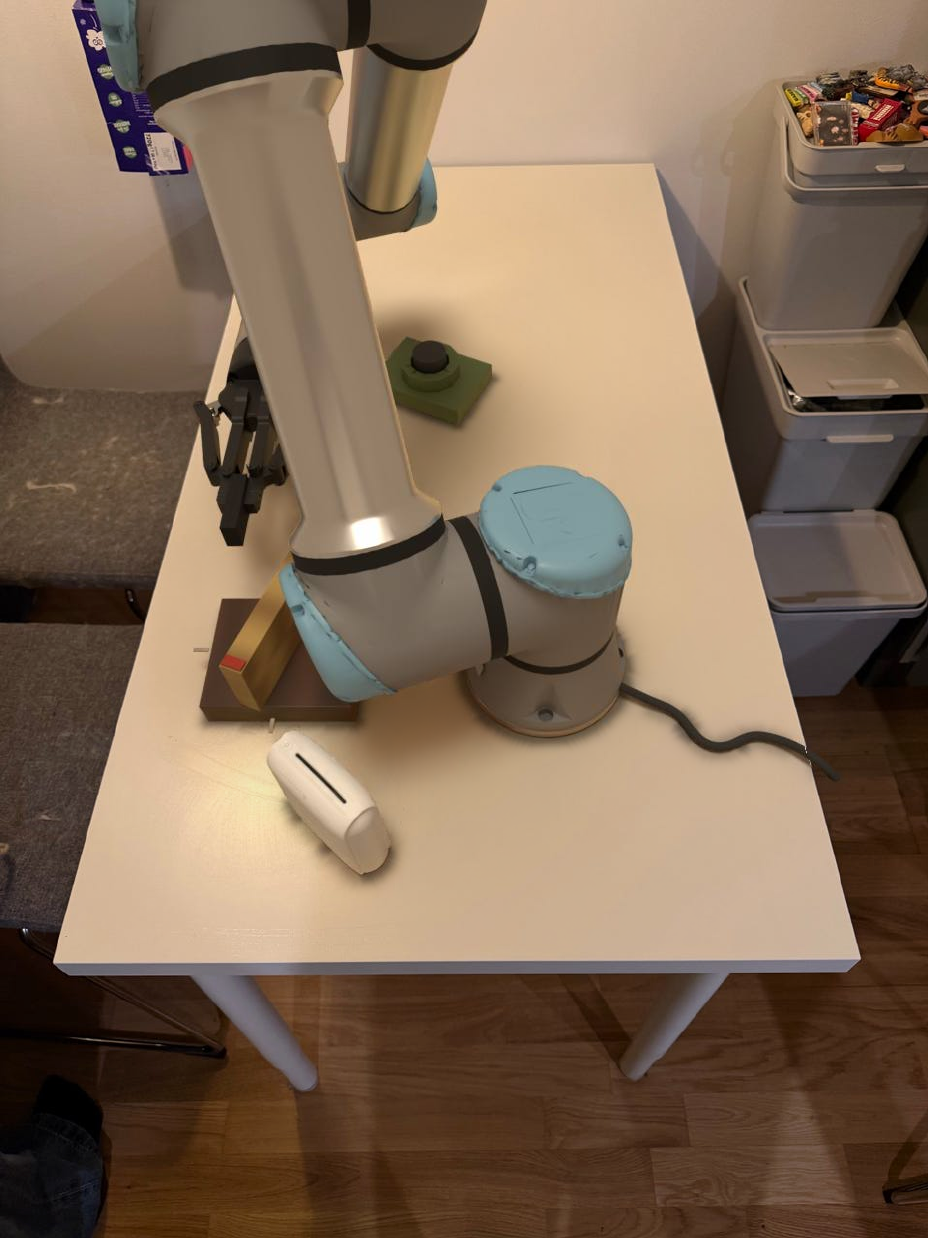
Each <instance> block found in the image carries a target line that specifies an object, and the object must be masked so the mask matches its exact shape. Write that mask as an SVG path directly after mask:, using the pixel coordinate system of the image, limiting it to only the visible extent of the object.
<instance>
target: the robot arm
mask: <svg viewBox="0 0 928 1238" xmlns="http://www.w3.org/2000/svg"><path fill="white" fill-rule="evenodd" d="M93 3H94V7H95V11H96V14H97V17H98V20H99V24H100V28H101V32H102V37H103V40H104V44H105V50H106V54H107V57H108V60H109V64H110V67H111V68H110V69H111V71H112V74H113V76H114V79H115V81H116V83H117V85H118V86H119V88H120V89H121V90H123V91H124V92H128V93H133V94H134V95H136V96H137V95H140V94H144V93H145V95H146V97H147V101H148V103H149V107H150V110H151V113H152V117H153V119H154V122H155V124H156V125H157V126H158V127H159V128H161V129H162V130H164V131H165V132H167V134H169V135H171V136H172V137H174V138H175V139H176V140H178V141H179V142H181V143H182V144H183V145H185V146H186V148H187V149H188V150H189V151H190V152H191V155H192V159H193V162H194V166H195V170H196V172H197V175H198V179H199V182H200V185H201V189H202V193H203V195H204V199H205V202H206V206H207V209H208V212H209V216H210V218H211V222H212V225H213V228H214V232H215V235H216V238H217V241H218V245H219V248H220V251H221V255H222V258H223V262H224V265H225V268H226V271H227V274H228V278H229V281H230V284H231V287H232V288H231V289H232V292H233V295H234V297H235V301H236V304H237V308H238V311H239V314H240V317H241V320H240V323H239V327H238V332H237V335H236V338H235V342H234V346H233V351H232V354H231V359H230V362H229V366H228V370H227V374H226V382H225V386H224V388H223V389H222V390H221V391H220V392H219V393H218V394H217V395H218V396H217V400H214V401H212V402H209V403H207V404H206V403H205V401H204V400H196V401H195V402H194V403H193V404H192V407H193V409H194V412H195V415H196V418H197V421H198V423H199V425H200V439H201V440H200V441H201V452H202V466H203V469H204V471H205V473H206V476H207V480H208V481H209V482H210V485H211V486H212V487H214V488H215V487H217V488H218V490H217V495H216V498H215V499H216V500H215V501H216V504H217V506H218V508H219V512H220V514H221V518H220V523H219V531H220V533H221V535H222V538H223V540H224V542H225V545H226V547H244V544H245V539H246V534H247V530H248V524H249V520H250V515H257V514H258V513H259V512H260V511H261V507H262V501H263V498H264V492H265V490H266V489H267V487H270V486H272V485H274V486H275V487H282V486H284V485H285V484H286V483H287V481H288V479H290V482H291V486H292V488H293V492H294V495H295V498H296V503H297V505H298V508H299V513H300V519H299V521H298V523H297V525H296V526H295V528H294V529H293V531H292V533H291V535H290V536H289V539H288V548H289V552H290V551H291V554H292V557H293V560H294V562H291V563H288V564H287V565H286V566H285V567H284V568H282V569H281V570H280V571H279V581H280V585H281V589H282V592H283V594H284V597H285V600H286V603H287V605H288V607H289V608H290V611H291V614H292V616H293V618H294V621H295V624H296V627H297V629H298V631H299V634H300V636H301V638H302V640H303V642H304V645H305V647H306V649H307V651H308V653H309V655H310V657H311V659H312V661H313V663H314V665H315V667H316V669H317V671H318V673H319V674H320V676H321V678H322V680H323V682H324V683H325V685H326V686H327V688H328V689H329V690H330V692H331V693H332V694H333V695H334V696H336V697H337V698H339V699H341V700H343V701H346V702H357V701H358V702H360V701H365V700H368V699H371V698H376V697H380V696H383V695H389V696H393V695H396V694H398V693H399V692H400V691H401V690H405V689H407V688H408V689H409V688H411V687H415V686H418V685H420V684H423V683H428V682H430V681H433V680H436V679H440V678H442V677H446V676H449V675H452V674H454V673H455V674H456V673H458V672H461V671H464V672H465V678H466V682H467V685H468V688H469V691H470V694H471V695H472V697H473V698H474V700H475V702H476V703H477V705H478V706H479V707H480V708H481V710H482V711H483V712H484V713H486V715H488V716H489V717H490V718H491V719H492V720H493V721H495V722H496V723H498V724H499V725H501V726H503V727H505V728H507V729H509V730H510V731H513V732H516V733H519V734H523V735H526V736H532V737H541V738H555V737H562V736H567V735H571V734H574V733H577V732H580V731H583V730H585V729H586V728H588V727H591V726H592V725H593V724H595V723H596V722H597V721H599V720H600V719H601V718H603V716H605V715H606V714H607V713H608V711H610V709H611V708H612V707H613V706H614V703H615V702H616V700H617V698H618V696H619V695H620V693H623V694H625V695H627V696H629V697H632V698H634V699H636V700H638V701H640V702H642V703H644V704H646V705H649V706H650V707H654V708H656V709H658V710H661V711H662V712H665V713H666V714H668V715H670V716H672V717H673V718H675V720H677V721H678V723H679V724H680V725H681V726H682V727H683V728H684V730H685V731H686V733H687V734H688V735H689V737H690V738H691V739H692V740H693V741H694V742H695V743H696V744H698V745H699V746H701V747H702V748H704V749H706V750H710V751H714V752H727V751H730V750H733V749H735V748H737V747H740V746H742V745H745V744H746V743H748V742H752V741H762V742H767V743H771V744H775V745H778V746H782V747H784V748H787V749H789V750H791V751H793V752H795V753H797V754H799V755H801V756H802V757H804V758H805V759H807V760H808V761H810V762H811V763H813V764H814V766H816V767H817V768H818V769H820V770H821V771H822V772H823V773H824V774H825V775H826V776H827V778H829V780H831V781H832V782H835V783H838V782H840V781H841V777H840V775H839V774H838V772H837V771H836V770H835V769H834V767H832V766H831V765H830V764H829V763H828V761H826V760H825V759H824V758H822V757H821V756H820V755H819V754H818V753H816V752H814V751H813V750H811V749H810V748H809V747H807V746H805V745H803V744H801V743H800V742H797V741H796V740H793V739H791V738H788V737H786V736H783V735H781V734H776V733H772V732H768V731H763V730H760V731H759V730H754V731H748V732H747V731H746V732H744V733H742V734H740V735H737V736H735V737H733V738H731V739H728V740H725V741H714V740H710V739H708V738H707V737H705V736H703V734H702V733H700V731H698V729H697V728H696V727H695V726H694V724H693V723H692V721H691V720H690V719H689V718H688V717H687V715H686V714H685V713H683V712H682V711H681V710H680V709H679V708H677V707H676V706H674V705H672V704H670V703H668V702H667V701H664V700H662V699H659V698H657V697H654V696H653V695H650V694H648V693H645V692H643V691H641V690H639V689H637V688H635V687H633V686H630V685H628V684H626V683H624V679H625V678H624V677H625V672H626V653H625V647H624V642H623V639H622V637H621V634H620V631H619V628H618V626H617V619H618V615H619V612H620V607H621V602H622V598H623V593H624V591H625V590H624V589H625V584H626V581H627V580H628V578H629V576H630V573H631V569H632V567H633V557H632V553H633V542H634V541H633V540H634V539H633V526H632V521H631V519H630V516H629V514H628V512H627V510H626V507H625V506H624V505H623V503H622V502H621V501H620V499H619V498H618V497H617V496H616V494H614V492H613V491H612V490H611V489H610V488H609V487H607V486H606V485H605V484H603V483H602V482H600V480H597V479H595V478H594V477H591V476H586V475H582V474H581V473H579V471H578V470H575V469H572V468H569V467H565V466H559V465H549V464H548V465H547V464H546V465H545V464H540V465H529V466H525V467H521V468H516V469H515V470H512V471H509V472H508V473H506V474H504V475H502V476H501V477H500V478H498V479H497V480H496V481H495V482H493V484H492V486H491V488H490V490H489V491H487V492H486V493H485V495H484V496H483V498H482V499H481V501H480V506H479V508H478V511H474V512H472V513H468V514H464V515H460V516H457V517H454V518H450V519H447V520H445V518H444V515H443V509H442V507H441V503H440V502H439V500H437V499H435V498H434V497H431V496H430V495H429V494H427V493H425V492H423V491H422V490H421V489H418V487H417V485H416V484H415V481H414V477H413V473H412V468H411V464H410V459H409V456H408V452H407V451H408V450H407V447H406V443H405V439H404V434H403V431H402V427H401V423H400V419H399V418H400V417H399V415H398V410H397V406H396V403H395V401H394V397H393V393H392V389H391V384H390V380H389V376H388V372H387V368H386V364H385V361H386V360H385V355H384V352H383V348H382V343H381V339H380V335H379V330H378V327H377V322H376V319H375V314H374V310H373V306H372V301H371V298H370V294H369V290H368V286H367V280H366V276H365V273H364V269H363V268H364V267H363V265H362V260H361V255H360V252H359V247H358V244H357V242H361V241H366V240H371V239H374V238H380V237H384V236H389V235H394V234H399V233H407V232H410V231H411V230H412V229H415V228H419V227H423V226H427V225H429V224H431V223H432V222H433V221H434V220H435V218H436V216H437V213H438V202H437V201H438V190H437V183H436V177H435V174H434V171H433V166H432V163H431V161H430V158H429V157H428V154H429V150H430V147H431V144H432V140H433V137H434V134H435V130H436V127H437V122H438V119H439V116H440V112H441V109H442V105H443V102H444V98H445V95H446V91H447V87H448V84H449V80H450V77H451V74H452V70H453V66H454V64H456V63H457V62H458V61H460V59H461V58H463V56H464V55H466V53H467V52H468V51H469V49H470V48H471V47H472V45H473V44H474V41H475V40H476V37H477V35H478V33H479V29H480V27H481V23H482V20H483V17H484V13H485V9H486V8H487V3H488V0H93ZM349 50H350V51H351V50H352V62H351V75H350V78H351V79H350V87H349V88H350V89H349V102H348V104H349V105H348V116H347V125H346V126H347V127H346V130H347V131H346V140H345V141H346V142H345V151H344V152H345V154H344V160H343V161H340V162H338V161H337V157H336V156H337V155H336V152H335V148H334V144H333V139H332V136H331V135H332V134H331V131H330V128H329V124H330V123H329V121H330V120H329V117H330V113H332V110H333V107H334V105H335V103H336V101H337V99H338V97H339V96H340V94H341V92H342V90H343V88H344V85H345V82H344V75H343V72H342V67H341V63H340V59H339V54H338V53H340V52H345V51H349ZM222 414H224V415H225V416H226V417H227V419H228V420H229V422H230V423H231V426H230V430H229V435H228V438H227V443H226V446H225V450H224V455H223V459H222V456H221V455H222V454H221V444H220V443H221V442H220V435H219V434H220V433H219V430H218V428H217V427H219V426H220V424H221V423H220V422H221V420H222V419H221V415H222ZM254 433H255V435H254ZM253 438H254V439H253ZM277 441H278V444H277V445H276V447H275V443H277ZM252 442H253V444H252V448H251V453H250V458H249V463H246V462H247V456H248V452H249V447H250V443H252ZM245 467H246V469H247V472H248V473H244V470H245ZM805 747H806V750H805ZM806 751H807V753H806Z"/></svg>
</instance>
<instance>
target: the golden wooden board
mask: <svg viewBox="0 0 928 1238" xmlns="http://www.w3.org/2000/svg"><path fill="white" fill-rule="evenodd" d="M291 562H294V560H293V557H292V554H291V551H290V550H289V552H288V553H287V554H286V557H285V558H284V559H283V561H282V563H281V564H280V566H279V568H278V569H277V571H276V572H275V574H274V576H273V577H272V579H271V581H270V583H269V584H268V586H267V587H266V588H265V591H264V592H263V594H262V595H261V597H260V598H261V599H260V600H259V602H258V603H257V605H256V607H255V608H254V610H253V612H252V613H251V615H250V616H249V618H248V620H247V621H246V623H245V624H244V626H243V628H242V629H241V631H240V633H239V634H238V636H237V637H236V639H235V641H234V642H233V644H232V646H231V647H230V649H229V650H228V652H227V654H226V655H225V657H224V658H223V660H222V662H221V663H220V665H219V668H220V670H221V671H222V673H223V675H224V677H225V678H226V680H227V682H228V684H229V686H230V687H231V689H232V691H233V693H234V694H235V696H236V698H237V700H238V702H239V703H240V704H241V705H244V706H247V707H250V708H253V709H256V710H258V711H261V710H262V708H263V706H264V704H265V703H266V701H267V699H268V697H269V696H270V694H271V692H272V690H273V689H274V687H275V685H276V683H277V682H278V680H279V678H280V676H281V675H282V673H283V671H284V669H285V668H286V666H287V664H288V662H289V661H290V659H291V657H292V655H293V653H294V652H295V650H296V648H297V646H298V645H299V643H300V641H301V639H302V638H301V636H300V634H299V631H298V629H297V627H296V624H295V621H294V618H293V616H292V614H291V611H290V608H289V607H288V605H287V603H286V600H285V597H284V594H283V592H282V589H281V585H280V581H279V571H280V570H281V569H282V568H284V567H285V566H286V565H287V564H288V563H291Z"/></svg>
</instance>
